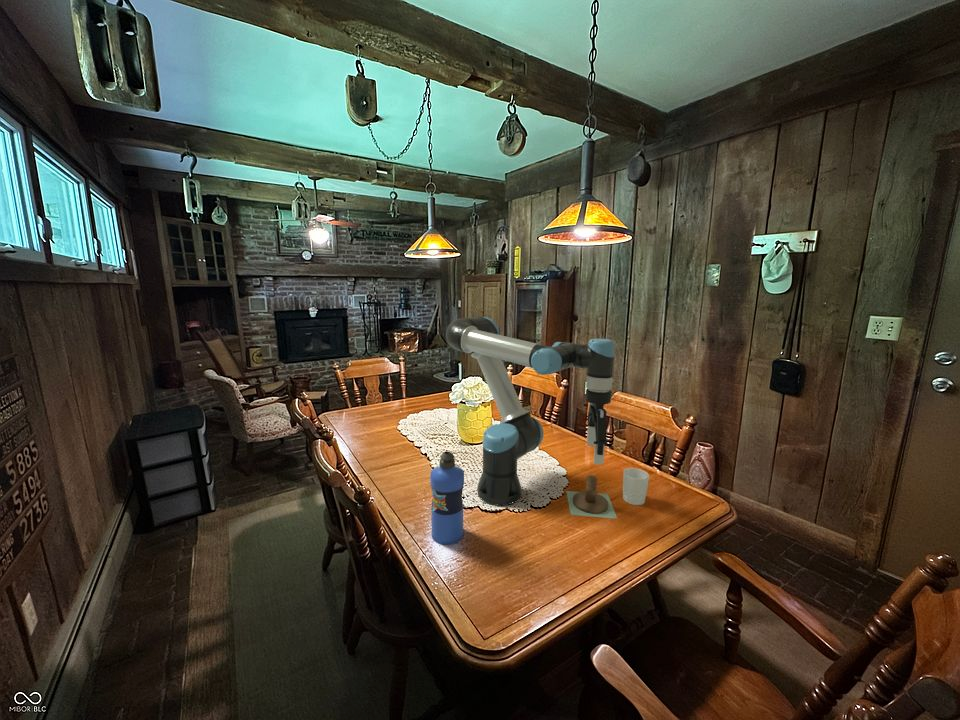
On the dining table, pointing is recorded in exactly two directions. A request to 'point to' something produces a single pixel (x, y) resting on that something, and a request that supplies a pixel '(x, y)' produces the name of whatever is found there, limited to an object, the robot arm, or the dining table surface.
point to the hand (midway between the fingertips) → (594, 454)
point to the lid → (590, 498)
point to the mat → (575, 511)
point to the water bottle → (447, 501)
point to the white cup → (635, 485)
